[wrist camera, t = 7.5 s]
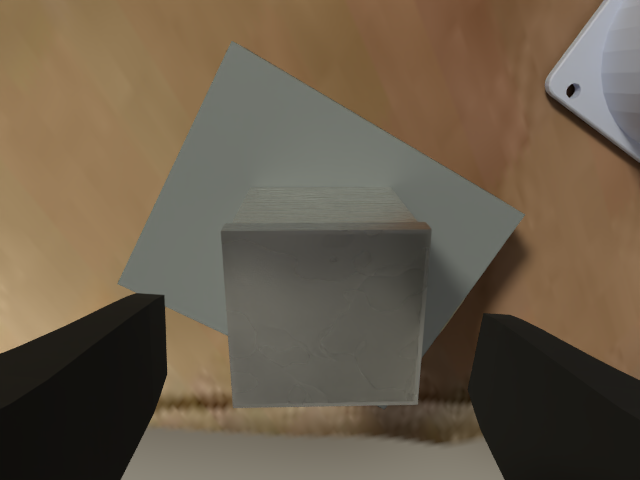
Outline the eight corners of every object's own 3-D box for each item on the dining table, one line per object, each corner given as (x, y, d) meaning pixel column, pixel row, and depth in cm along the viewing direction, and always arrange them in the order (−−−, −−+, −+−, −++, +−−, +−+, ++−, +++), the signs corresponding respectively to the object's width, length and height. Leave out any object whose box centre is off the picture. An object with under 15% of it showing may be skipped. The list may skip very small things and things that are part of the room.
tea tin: (393, 183, 16) (431, 229, 11) (386, 314, 17) (417, 405, 12) (247, 184, 15) (220, 230, 11) (253, 316, 17) (232, 407, 12)
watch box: (493, 195, 19) (532, 218, 16) (378, 362, 22) (390, 412, 18) (246, 48, 17) (232, 40, 14) (149, 250, 20) (117, 283, 16)
